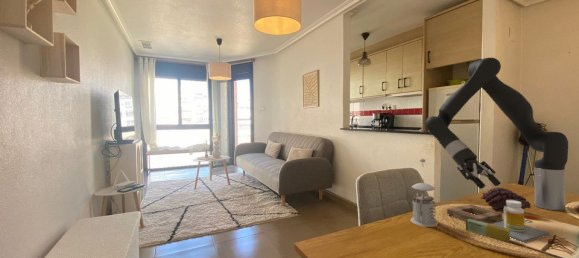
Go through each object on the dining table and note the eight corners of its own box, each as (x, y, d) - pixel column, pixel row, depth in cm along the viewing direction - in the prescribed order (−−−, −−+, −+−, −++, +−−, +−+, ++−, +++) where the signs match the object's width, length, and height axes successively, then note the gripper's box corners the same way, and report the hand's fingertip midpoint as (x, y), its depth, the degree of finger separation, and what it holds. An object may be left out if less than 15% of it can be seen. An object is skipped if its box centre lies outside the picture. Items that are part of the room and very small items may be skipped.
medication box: (465, 230, 89) (464, 219, 88) (468, 228, 90) (467, 217, 90) (508, 243, 79) (508, 231, 79) (511, 240, 80) (510, 228, 80)
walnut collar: (470, 210, 107) (470, 204, 107) (502, 220, 96) (502, 213, 96) (447, 215, 103) (447, 209, 103) (477, 225, 92) (477, 219, 92)
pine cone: (536, 215, 99) (536, 191, 99) (522, 220, 95) (522, 194, 95) (487, 203, 115) (486, 182, 115) (473, 206, 112) (473, 184, 111)
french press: (441, 220, 97) (439, 158, 97) (433, 230, 89) (432, 162, 88) (414, 215, 104) (413, 156, 104) (405, 223, 96) (403, 160, 95)
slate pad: (508, 221, 94) (508, 219, 94) (549, 234, 83) (549, 232, 83) (483, 228, 90) (482, 225, 90) (523, 242, 78) (523, 240, 78)
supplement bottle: (528, 232, 83) (528, 204, 83) (510, 231, 84) (510, 203, 84) (517, 225, 89) (516, 199, 88) (500, 225, 90) (499, 198, 89)
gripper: (454, 148, 99) (485, 182, 88) (478, 146, 103) (511, 178, 93) (442, 159, 104) (470, 193, 93) (466, 157, 109) (495, 189, 98)
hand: (490, 186), depth 93 cm, fingers open, 8 cm apart
